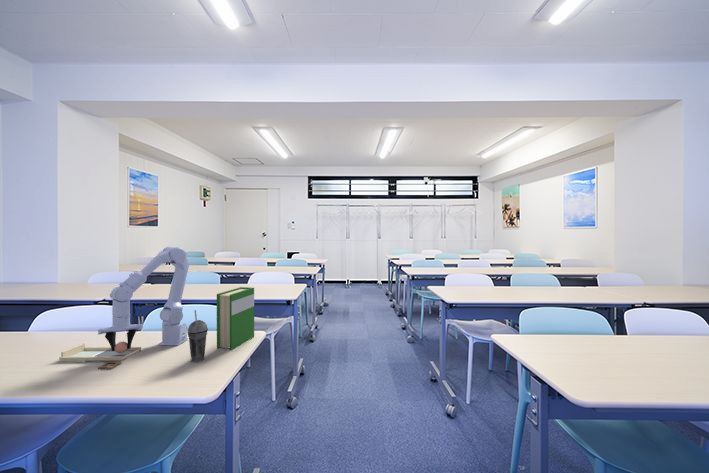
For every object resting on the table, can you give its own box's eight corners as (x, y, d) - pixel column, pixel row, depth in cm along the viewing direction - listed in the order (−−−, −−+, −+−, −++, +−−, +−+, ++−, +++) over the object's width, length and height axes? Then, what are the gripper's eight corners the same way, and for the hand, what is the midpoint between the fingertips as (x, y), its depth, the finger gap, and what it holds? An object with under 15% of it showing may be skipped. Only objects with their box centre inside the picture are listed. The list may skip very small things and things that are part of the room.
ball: (131, 351, 124) (131, 340, 124) (119, 355, 119) (119, 344, 119) (123, 350, 125) (123, 339, 125) (111, 354, 121) (111, 343, 121)
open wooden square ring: (121, 363, 115) (121, 361, 115) (111, 369, 110) (111, 367, 110) (108, 363, 115) (108, 361, 115) (97, 369, 110) (97, 367, 110)
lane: (140, 351, 128) (140, 342, 128) (120, 361, 117) (120, 352, 117) (84, 351, 127) (84, 342, 127) (59, 362, 116) (59, 352, 116)
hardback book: (231, 350, 128) (231, 294, 128) (216, 348, 130) (216, 293, 130) (254, 336, 146) (254, 287, 146) (240, 335, 147) (240, 287, 147)
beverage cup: (212, 357, 121) (212, 308, 121) (197, 364, 114) (197, 312, 114) (198, 354, 123) (198, 306, 123) (182, 361, 117) (182, 310, 116)
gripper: (144, 311, 129) (144, 343, 129) (102, 315, 123) (102, 348, 123) (141, 315, 122) (141, 348, 122) (96, 320, 116) (96, 354, 116)
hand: (121, 349), depth 122 cm, fingers closed on ball, 4 cm apart
